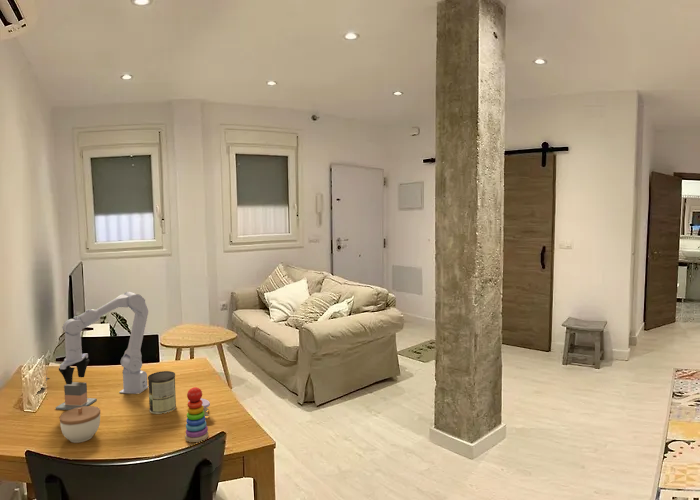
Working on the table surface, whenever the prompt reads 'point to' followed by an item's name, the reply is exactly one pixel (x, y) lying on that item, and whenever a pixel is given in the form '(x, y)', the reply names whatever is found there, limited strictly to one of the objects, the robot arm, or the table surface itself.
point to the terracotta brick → (76, 399)
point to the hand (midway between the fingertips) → (75, 380)
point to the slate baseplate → (69, 407)
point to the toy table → (205, 406)
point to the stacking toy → (195, 417)
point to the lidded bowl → (80, 423)
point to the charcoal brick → (75, 388)
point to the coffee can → (162, 392)
